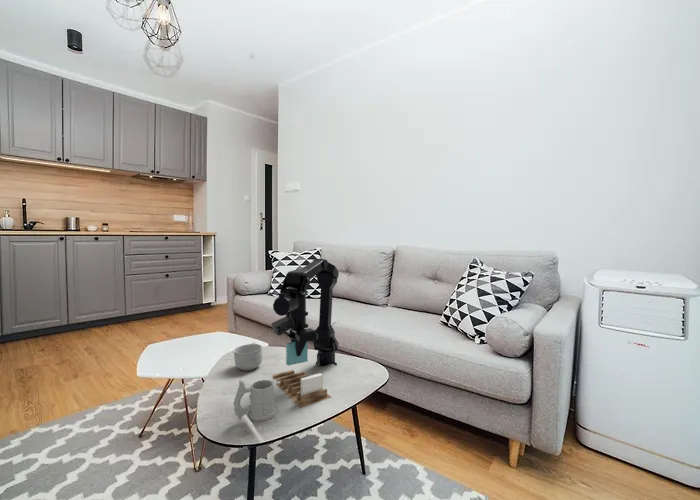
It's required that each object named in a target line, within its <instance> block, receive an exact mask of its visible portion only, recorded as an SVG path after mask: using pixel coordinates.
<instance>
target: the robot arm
mask: <svg viewBox="0 0 700 500" xmlns="http://www.w3.org/2000/svg"><path fill="white" fill-rule="evenodd" d="M314 277H316V282H317V284H318V286H319V288H320V296H319V298H320V299H319V314H318V317H319V319H318V320H319V321H318V326H317V327H316V329H312V328H311V327H310V328H309V324H308V323H307V316H309V312H308V311H307V304H306V303H307V301H306V300H307V299H306V298H307V294H308V293H309V291H308V290H307V289H308V287H309V286H310V284H311V280H312V278H314ZM338 278H339V269H337V267H336V265H335V264H332V263H331V262H329V261H328V260H327V259H325V258H314V259H313V260H312V261H311V262H309V263H308V264H307V265H304V266H303V267H302V268H299V269H293V270H290V271H288V272H287V273H286V275H285V277H284V278H283V282H282V285H281V288H280V290H279V293H278V297H276V299H275V300H274V301H273V304H272V308H273V310H274V313H275V314H277V315H278V316H281V318H278V319H277V320H275V321H274V322H272V323H271V324H270V326H271V328H272V331H273V333H274V334H276V335H277V336H282V335H283V334H285V336H287V337H288V338H289V340H290V343H291V342H295V346H296V353H297V356H300V355H301V353H302V351H303V349H304V347H305V345H306V343H307V344H308V342H310V341H312V344H313V347H314V350H315V351H317V353H316V361H315V364H316V365H318V366H319V367H321V368H322V367H327V366H331V365H335V366H337V365H338V363H337V362H336V352H338V350H339V341H338V340H337V339H336V336H335V335H336V334H335V333H336V332H335V330H334V328H333V326H332V315H333V314H332V311H333V309H332V308H333V293H334V292H333V290H334V288H335V286H336V285H337V283H338ZM282 316H283V317H282Z"/></svg>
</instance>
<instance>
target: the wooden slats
mask: <svg viewBox="0 0 700 500" xmlns="http://www.w3.org/2000/svg"><path fill="white" fill-rule="evenodd" d="M296 373H297V372H296ZM296 373H295V370H294V369H290V370H287V371H282V372H279V373H275V374H272V380H276V381H279V382H280V378H281V377H285V376H289V375H293V374H296Z"/></svg>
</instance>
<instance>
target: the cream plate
mask: <svg viewBox="0 0 700 500" xmlns="http://www.w3.org/2000/svg"><path fill="white" fill-rule="evenodd" d="M323 376H324V375H323V374H322V373H321V372H319V373H316V374H311V375H308V377H304V378H301V396H303V395H306V394H310V393H313V392H316V391H319V390H323V389H324V377H323Z"/></svg>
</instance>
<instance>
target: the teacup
mask: <svg viewBox="0 0 700 500" xmlns="http://www.w3.org/2000/svg"><path fill="white" fill-rule="evenodd" d="M262 349H263V347H262V345H261V344H259V343H256V342H252V343H248V344H242V345H239V346H237V347H235V348H234V349H233V351H232V352H233V356H234V358H233V359H234V364H235V366H236V368H238V369H240V370H241V371H251V370H255V369H257V368H258V366H260V365H261V363H262V361H263V350H262Z"/></svg>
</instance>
